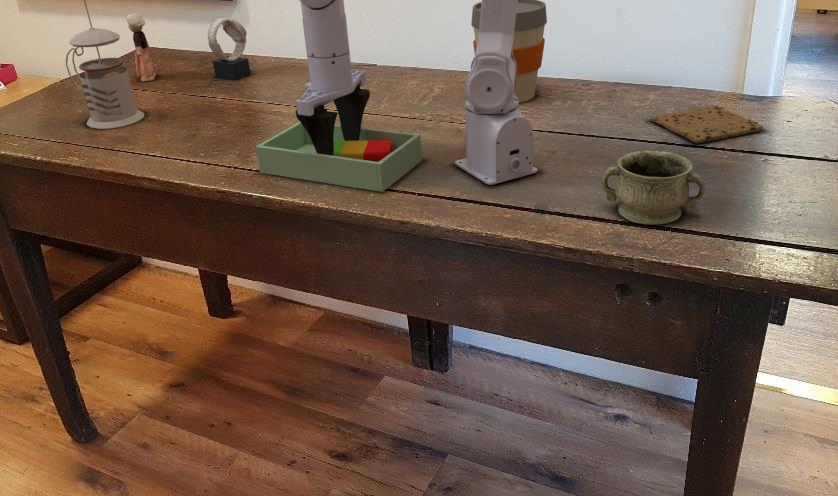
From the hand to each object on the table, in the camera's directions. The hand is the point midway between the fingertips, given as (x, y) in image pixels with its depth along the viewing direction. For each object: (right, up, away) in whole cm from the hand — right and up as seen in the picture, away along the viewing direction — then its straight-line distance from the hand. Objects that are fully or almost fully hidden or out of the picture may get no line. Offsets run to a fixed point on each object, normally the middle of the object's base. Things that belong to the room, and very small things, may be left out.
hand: (339, 149), depth 114 cm
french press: (-43, +10, +26) cm, 51 cm away
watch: (-26, +23, +46) cm, 58 cm away
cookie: (+55, +5, +8) cm, 56 cm away
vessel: (+40, -11, -16) cm, 44 cm away
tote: (0, -2, +1) cm, 3 cm away
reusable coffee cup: (+27, +14, +26) cm, 40 cm away
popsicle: (0, -1, +1) cm, 2 cm away
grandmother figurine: (-44, +23, +47) cm, 68 cm away
